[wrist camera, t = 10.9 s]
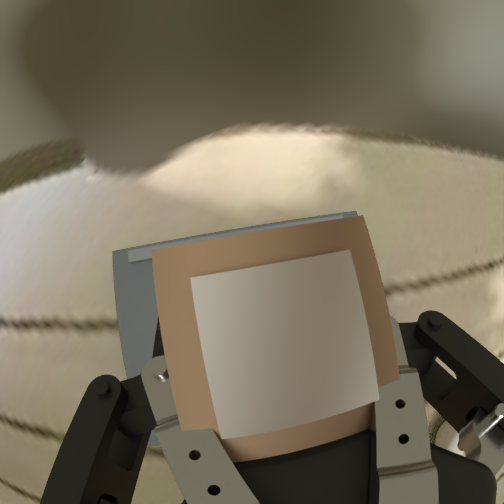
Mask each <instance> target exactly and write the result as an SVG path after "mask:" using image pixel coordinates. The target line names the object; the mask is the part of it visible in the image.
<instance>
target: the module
mask: <svg viewBox="0 0 504 504" xmlns="http://www.w3.org/2000/svg"><path fill="white" fill-rule="evenodd" d="M151 252H152V264H153V274H154V284H155V293H156V301H157V309H158V316H159V323H160V330H161V336H162V342H163V348H164V354H165V359H166V365H167V370H168V375H169V380H170V384H171V389H172V394H173V398H174V402H175V407H176V411H177V415H178V419H179V423H180V426H181V430H182V431H184V430H198V429H209V428H212V429H213V431H214V433H215V434H216V436H217V438H218V439H219V441H220V443H221V444H222V446H223V448H224V449H225V451H226V453H227V454H228V456H229V458H230V459H231V461H232V462H233V463H235V462H242V461H249V460H256V459H262V458H267V457H272V456H277V455H282V454H287V453H291V452H295V451H300V450H304V449H307V448H311V447H315V446H318V445H322V444H325V443H329V442H332V441H335V440H338V439H341V438H344V437H347V436H350V435H353V434H356V433H358V432H361V431H364V430H366V429H369V428H370V416H371V409H372V402H374V401H377V400H379V392H378V388H379V387H381V386H384V385H386V384H389V383H391V382H394V381H396V380H398V379H400V375H399V368H398V361H397V354H396V348H395V342H394V336H393V330H392V325H391V320H390V315H389V310H388V305H387V301H386V296H385V292H384V288H383V284H382V280H381V276H380V272H379V268H378V264H377V260H376V257H375V253H374V250H373V246H372V243H371V239H370V236H369V233H368V230H367V226H366V223H365V220H364V217H363V215H362V216H355V217H348V218H341V219H334V220H328V221H321V222H314V223H308V224H301V225H295V226H288V227H282V228H276V229H269V230H263V231H257V232H251V233H245V234H239V235H233V236H227V237H221V238H215V239H209V240H203V241H197V242H192V243H186V244H180V245H175V246H169V247H164V248H158V249H153V250H151ZM199 458H200V457H199ZM199 458H197V459H196V460H198V459H199Z"/></svg>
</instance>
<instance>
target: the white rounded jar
mask: <svg viewBox="0 0 504 504" xmlns="http://www.w3.org/2000/svg"><path fill="white" fill-rule="evenodd" d="M458 441H459V433H458V432H457V431H456V430H455V429H454V428H453V427H452V426H451V425H450V424H449V423H448V422H447V421H446V420H445V422H443V424H442V425H441V426H440V428H439V430H438V431H437V434H436V437H435V444H436V446H439V447H441V448H444V449H446V450H449V451H451V452H454V453H456V454H459V455H462V456H464V457H466V456H465V452H464V451H460V450H459V449H458V446H457V444H458Z"/></svg>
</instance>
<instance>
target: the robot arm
mask: <svg viewBox="0 0 504 504" xmlns="http://www.w3.org/2000/svg"><path fill="white" fill-rule="evenodd" d="M390 320H391V325H392V330H393V336H394V342H395V348H396V354H397V361H398V368H399V375H400V379H398V380H396V381H394V382H391V383H389V384H386V385H384V386H381V387H379V388H378V392H379V400H377V401H374V402H372V409H371V416H370V428H369V429H366V430H364V431H361V432H358V433H356V434H353V435H350V436H347V437H344V438H341V439H338V440H335V441H332V442H329V443H325V444H322V445H318V446H315V447H311V448H307V449H304V450H300V451H295V452H291V453H287V454H282V455H277V456H272V457H267V458H262V459H256V460H249V461H242V462H235V463H233V462H232V461H231V459H230V458H229V456H228V454H227V453H226V451H225V449H224V448H223V446H222V444H221V443H220V441H219V439H218V438H217V436H216V434H215V433H214V431H213V429H212V428H209V429H198V430H184V431H182V430H181V426H180V423H179V419H178V415H177V411H176V407H175V402H174V398H173V394H172V389H171V384H170V380H169V375H168V370H167V365H166V359H165V354H164V348H163V342H162V336H161V330H160V323H159V316H158V323H157V327H156V329H157V330H156V334H155V341H154V348H153V356H152V359H151V360H149V361H148V362H147V363H146V364H145V365H144V367H143V369H142V372H141V374H140V375H138V376H135V377H133V378H130V379H127V380H124V381H121V382H120V381H119V380H118V379H117V378H116V377H114V376H112V375H102V376H99V377H97V378H95V379H94V380H93V381H92V382H91V383H90V384H89V386H88V388H87V390H86V392H85V394H84V396H83V398H82V400H81V402H80V404H79V407H78V409H77V411H76V413H75V415H74V417H73V420H72V422H71V424H70V426H69V429H68V431H67V433H66V435H65V438H64V440H63V443H62V445H61V447H60V450H59V452H58V455H57V457H56V460H55V462H54V465H53V468H52V470H51V473H50V476H49V478H48V481H47V484H46V487H45V490H44V493H43V496H42V499H41V502H40V504H131V501H132V497H133V494H134V490H135V486H136V483H137V479H138V475H139V472H140V468H141V465H142V461H143V458H144V455H145V451H146V448H147V444H148V441H149V438H150V435H151V431H152V430H154V429H155V432H156V435H157V438H158V440H159V443H160V445H161V448H162V450H163V453H164V455H165V457H166V460H167V462H168V464H169V467H170V469H171V471H172V473H173V475H174V477H175V480H176V482H177V484H178V486H179V488H180V490H181V492H182V494H183V496H184V498H185V500H184V501H183V502H182V504H495V502H496V491H497V484H496V479H495V475H496V474H497V473H498V471H499V470H500V469H501V467H502V466H503V464H504V364H503V363H502V362H501V361H500V360H499V359H497V358H496V357H495V356H494V355H493V354H492V353H490V352H489V351H488V350H487V349H486V348H485V347H483V346H482V345H481V344H480V343H479V342H477V341H476V340H475V339H474V338H472V337H471V336H470V335H469V334H468V333H466V332H465V331H464V330H463V329H461V328H460V327H459V326H457V325H456V324H455V323H454V322H452V321H451V320H450V319H449V318H447V317H446V316H445V315H443V314H442V313H440V312H437V311H426V312H423V313H422V314H421V315H420V316H419V318H418V321H417V322H412V323H398V322H397V321H396V320H395V319H394V318H393V317H392V316H390ZM436 357H438V358H439V359H440V360H441V361H442V362H444V363H445V364H446V365H447V366H448V367H449V368H450V369H451V370H452V371H453V372H454V373H455V374H456V377H457V380H456V379H455V378H454V377H452V376H451V375H450V374H449V373H448V372H447V371H446V370H445V369H444V368H443V367H442V366H440V365H439V364H438V363H437V362H436V361H435V359H436ZM423 397H424V398H425V399H426V400H427V401H428V402H429V403H430V404H431V405H432V406H433V407H434V408H435V409H436V410H437V411H438V413H439V414H440V415H441V416H442V417H443V418H444V419H445V420H446V421H447V422H448V423H449V424H450V425H451V426H452V427H453V428H454V429H455V430H456V431H457V432H458V433H459V441H458V444H457V446H458V449H459V450H460V451H464V452H465V456H466V457H464V456H462V455H459V454H456V453H454V452H451V451H449V450H446V449H444V448H441V447H439V446H436V445H434V444H432V443H430V441H429V432H428V424H427V417H426V411H425V405H424V399H423ZM199 457H200V458H199ZM197 458H199V459H198V460H196V459H197Z"/></svg>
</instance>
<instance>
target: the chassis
mask: <svg viewBox="0 0 504 504" xmlns="http://www.w3.org/2000/svg"><path fill="white" fill-rule="evenodd" d="M355 216H358V215H357V212H356V211H352V212H344V213H337V214H330V215H323V216H316V217H309V218H302V219H296V220H289V221H282V222H276V223H270V224H263V225H257V226H251V227H245V228H238V229H232V230H226V231H220V232H215V233H209V234H203V235H197V236H192V237H186V238H180V239H175V240H169V241H164V242H158V243H153V244H148V245H143V246H137V247H132V248H127V249H122V250H117V251H112V252H113V274H114V288H115V300H116V309H117V318H118V326H119V334H120V340H121V347H122V353H123V359H124V364H125V370H126V375H127V379H130V378H133V377H135V376H138V375H140V374H141V372H142V369H143V367H144V365H145V364H146V363H147V362H148V361H149V360H151V359H152V356H153V348H154V341H155V334H156V330H157V329H156V327H157V323H158V309H157V301H156V293H155V284H154V274H153V264H152V252H151V250H153V249H158V248H164V247H169V246H175V245H180V244H186V243H192V242H197V241H203V240H209V239H215V238H221V237H227V236H233V235H239V234H245V233H251V232H257V231H263V230H269V229H276V228H282V227H288V226H295V225H301V224H308V223H314V222H321V221H328V220H334V219H341V218H348V217H355ZM147 445H160V443H159V440H158V438H157V435H156V432H155V429H154V430H152V431H151V435H150V438H149V441H148V444H147Z"/></svg>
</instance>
